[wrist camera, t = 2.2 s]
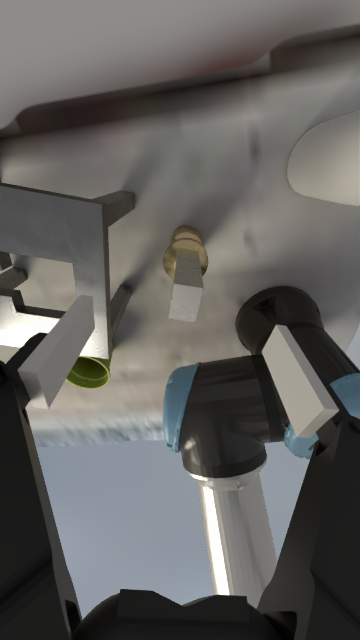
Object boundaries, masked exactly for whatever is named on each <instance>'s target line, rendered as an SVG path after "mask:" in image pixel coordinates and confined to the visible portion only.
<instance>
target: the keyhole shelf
mask: <svg viewBox="0 0 360 640" xmlns="http://www.w3.org/2000/svg"><path fill="white" fill-rule="evenodd" d="M134 202H135V193H132V192H127V191H117V192H114V193H111V194H107V195H104V196H101V197H98V198H94V199H87V198H81V197H76V196H71V195H65V194H60V193H55V192H49V191H44V190H38V189H33V188H28V187H22V186H17V185H11V184H6V183H1V181H0V270H1V271H2V270H4V269H6V268H8V267H10V266H12V262H11V258H10V255H9V253H14V254H20V255H26V256H32V257H39V258H45V259H51V260H57V261H63V262H69V263H73V270H74V278H75V286H76V293H77V299H78V298H79V296H80V295H86V296H92V298H93V310H94V321H95V329H94V331H93V333H92V334H91V336H90V338H89V339H88V341H87V343H86V345H85V346H84V348H83V350H82V352H81V353H80V355H81V356H89V357H96V358H103V359H109V356H110V354H111V352H112V345H111V340H112V337H113V335H114V333H115V331H116V329H117V326H118V324H119V322H120V320H121V317H122V315H123V313H124V311H125V308H126V306H127V304H128V302H129V299H130V297H131V286H127V285H120V286H119V288H118V290H117V292H116V293H115V295H114V297H113V298H112V300H111V302H110V277H109V243H108V227H109V226H111V225H112V224H113V223H115V222H116V221H118V220H119V219H120V218H122V217H123V216H124V215H126V214H127V213H129V212H130V211H131V210H133V209H134ZM26 280H27V277H26V273H25V270H24V269H20V268H14V267H12V268H11V269H9V270H7V271H5V272H3V273H2V274H0V345H6V346H14V347H22V346H24V344H25V343H26V342H27V341H28V339H29V338H30V337H32V336H34V335H36V334H37V333H39V332H42V333H49V332H50V331H51V330H52V328H53V327H54V326H55V325H56V324H57V322H58V321H59V320H60V319H61V318H62V317H63V315H64V314H65V313H66V312H65V311H58V310H51V309H44V308H38V307H31V306H25V305H24V301H23V298H22V295H21V292H20V290H13V289H14V288H16V287H17V286H18V285H20V284H21V283H23V282H24V281H26Z"/></svg>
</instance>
